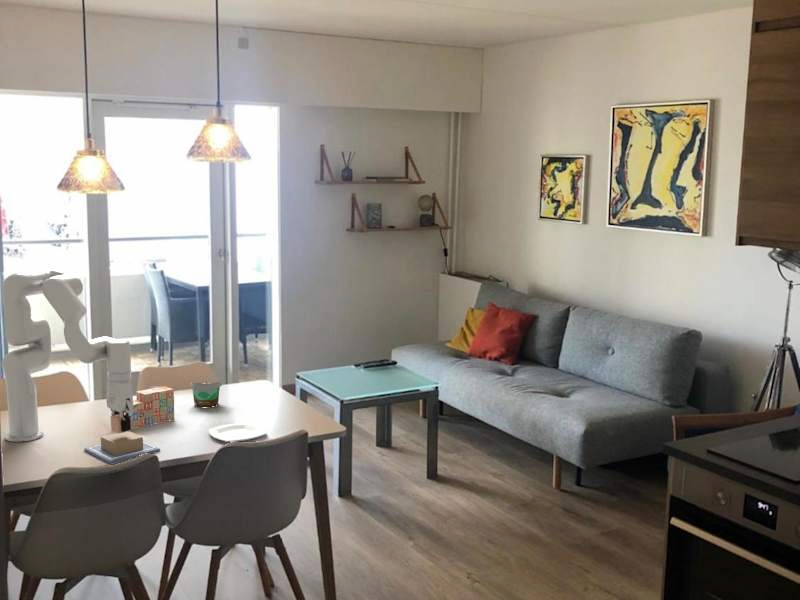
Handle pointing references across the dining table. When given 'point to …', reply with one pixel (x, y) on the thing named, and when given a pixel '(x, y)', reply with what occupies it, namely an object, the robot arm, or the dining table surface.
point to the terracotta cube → (118, 423)
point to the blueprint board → (120, 447)
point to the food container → (206, 393)
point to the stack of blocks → (153, 406)
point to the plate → (237, 432)
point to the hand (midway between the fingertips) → (121, 428)
